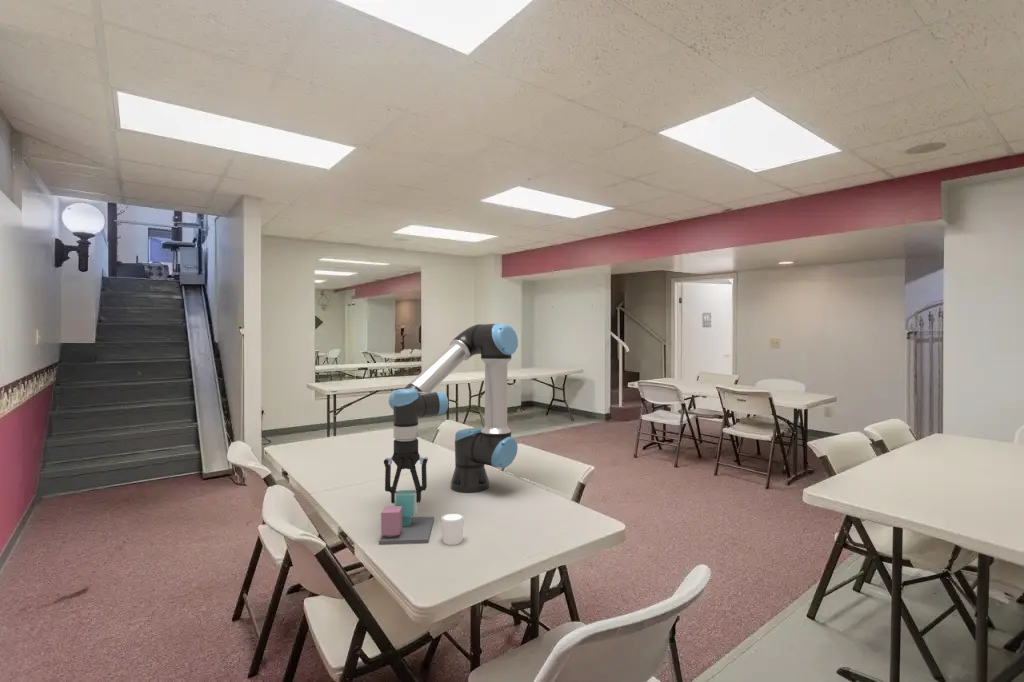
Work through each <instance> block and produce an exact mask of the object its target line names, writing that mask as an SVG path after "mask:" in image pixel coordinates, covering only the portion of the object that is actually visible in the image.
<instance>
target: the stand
mask: <svg viewBox="0 0 1024 682" xmlns="http://www.w3.org/2000/svg"><path fill="white" fill-rule="evenodd" d="M380 520H381V521H380V525H381V526H380V527H381V528H380V529H381V530H380V532H381V533H380V537H379V539H378V545H382V546H383V545H405V544H409V543H410V544H428V543H429V541H430V537H431V534H432V529H433V525H434V522H435V516H413V517H402V506H395V505H394V506H389V505H388V506H384V508H383V509H382V511H381V512H380ZM410 544H409V545H410Z"/></svg>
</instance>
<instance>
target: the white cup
mask: <svg viewBox="0 0 1024 682" xmlns="http://www.w3.org/2000/svg"><path fill="white" fill-rule="evenodd" d="M440 523H441V524H440V525H441V534H442V535H441V536H442V543H443V544H444V545H449V546H454V545H459V544H461V543H462V542H463V539H464V538H463V537H464V528H465V527H464V525H465V515H464V514H462V513H457V512H451V513H450V512H449V513H446V514H442V515H441V517H440Z"/></svg>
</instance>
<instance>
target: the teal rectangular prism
mask: <svg viewBox="0 0 1024 682" xmlns="http://www.w3.org/2000/svg"><path fill="white" fill-rule="evenodd" d="M398 491H399V492H398V493H397V495H396V506H402V517H415V514H414V492H415V491H416V489H407V490H406V489H404V490H403V489H402V490H401V489H399V490H398Z"/></svg>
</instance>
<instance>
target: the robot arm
mask: <svg viewBox="0 0 1024 682" xmlns="http://www.w3.org/2000/svg"><path fill="white" fill-rule="evenodd" d="M518 347H519V339H518V335H517V332H516V331H515V330H514V328H513V327H512V326H511V325H510V324H507V323H488V324H487V323H481V324H479V323H478V324H474V325H471V326H469V327H468V328H466V329H465V330H463V331H461V333H459V334H458V335H457V336H456V337H454V338H453V339H452V340H451V341H450V343H449V346H448V347H447V348H446V349H445V350H444V351H443V352H442V353H441V354H440V355H439V356H437V358H435V359H434V360H433V361H432V362H430V364H429V365H428V366H427V367H426V368H424V370H422V371H421V372H420V373H419V374H418V375H417V376H416V377H414V379H412V380H411V381H410V382H409V383H408V384H407V385H406V386H405V387H404V388H399V389H396V390H393V391H391V393H390V394H389V397H388V405H389V407H390V408H391V409H392V410H393V412H392V413H393V438H394V440H393V454H392V456H391V457H385V458H384V460H383V464H384V467H385V472H384V491H385V492H388V493H390V502H391V504H394V506H396V495H397V493H398V492H399V490H397V488H398V483H399V481H400V475H401V473H402V470H405V469H406V470H409V471H410V474H411V477H412V481H413V484H414V488H415V489H414V490H416V491H415V492H414V515H417V514H418V509H419V508H418V503H421V502H422V501H421V500H422V492H423V491H426V490H427V487H428V486H427V485H428V484H427V483H428V481H427V480H428V479H427V478H428V477H427V463H428V460H429V457H427V456H425V457H424V456H421V455H420V454H419V439H418V437H419V419H420V418H426V417H432V416H439V415H442V414H445V413H446V412H447V410H448V408H449V399H448V396H447V395H446V393H444V392H442V391H433V390H434V389H435V388H436V387H438V385H440V384H441V383H443V381H444V380H445V379H446V378H447V377H448V376H450V374H451V373H452V372H453V371H454V370H455V369H456V368H457V367H458V366H459V365H460V364H462V362H463V361H468V360H469V359H470V358H471V357H473V356H475V355H479V354H480V360H482V362H483V364H484V427H472V428H464V429H459V430H457V431H456V433H455V434H454V435H455V437H454V457H455V458H454V461H455V462H454V463H455V464H454V465H455V468H454V471H453V475H452V477H451V481H450V488H451V490H452V491H455V492H458V493H459V492H460V493H477V492H482V491H485V490H487V489H488V488H489V487H490V479H489V477H488V474H487V471H486V468H485V465H486V466H491V467H494V468H503V469H504V468H507V467H509V466H510V465H511V464H512V463H513V461H514V460H515V459H516V457H517V454H518V448H519V447H518V442H517V440H516V439H515V437H513V436H512V430H511V429H510V427H508V364H509V362H511V361H512V355H514V353H516V351H517V349H518ZM418 461H419V464H420V465H421V467H420V468H421V483H420V479H419V476H418V472H417V469H416V464H417V463H418ZM393 463H394V464H395V465H396V469H395V475H394V478H393V482H392V486H391V478H392V477H391V474H392V473H391V470H392V466H391V465H393Z"/></svg>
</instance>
